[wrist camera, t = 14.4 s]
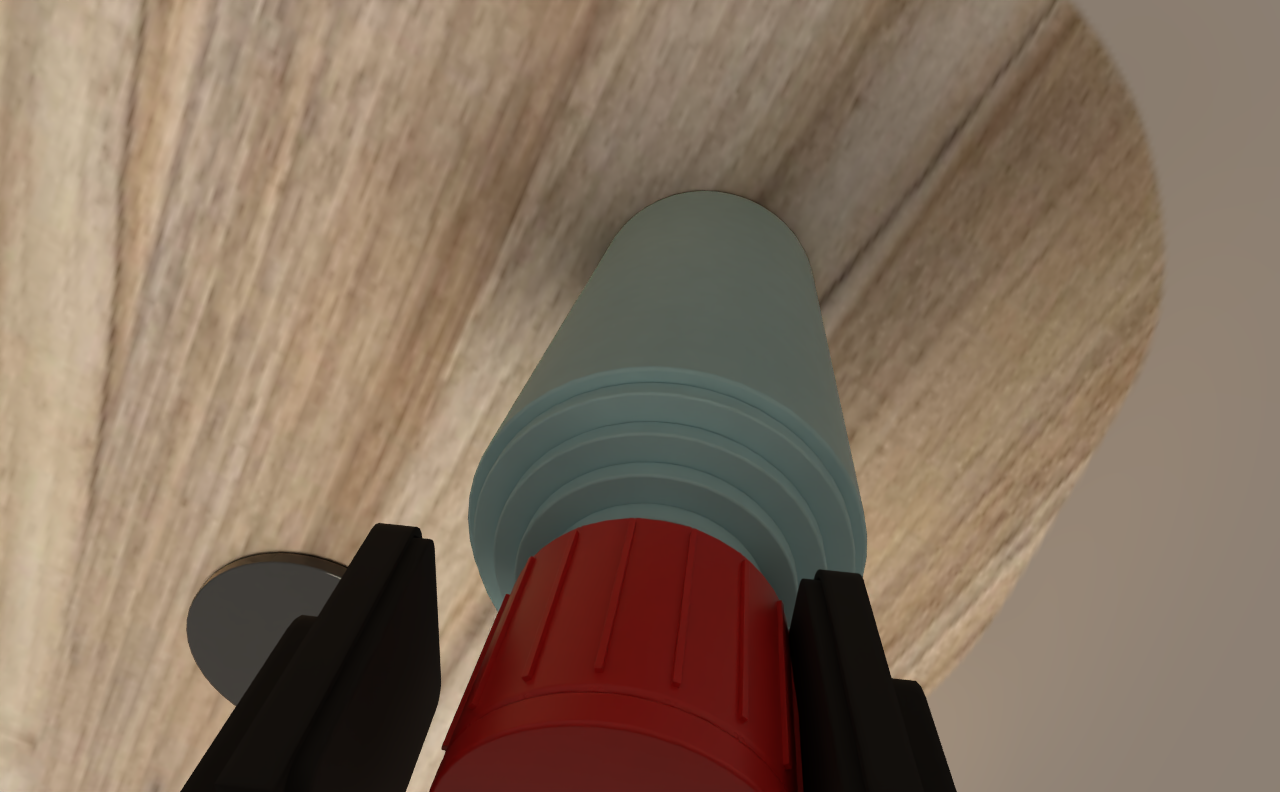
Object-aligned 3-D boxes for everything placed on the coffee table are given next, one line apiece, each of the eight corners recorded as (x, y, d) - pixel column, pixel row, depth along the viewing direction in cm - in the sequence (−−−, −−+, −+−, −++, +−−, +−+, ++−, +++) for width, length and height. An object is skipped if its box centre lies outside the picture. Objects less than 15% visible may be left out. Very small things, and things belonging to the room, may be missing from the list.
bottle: (834, 204, 22) (1004, 629, 7) (793, 410, 24) (851, 1016, 10) (604, 177, 22) (307, 520, 7) (591, 382, 25) (357, 920, 10)
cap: (465, 654, 12) (367, 874, 9) (587, 462, 10) (515, 655, 7) (695, 770, 12) (677, 1015, 9) (850, 605, 10) (888, 844, 7)
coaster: (419, 567, 29) (413, 578, 28) (425, 737, 33) (421, 749, 32) (176, 538, 29) (166, 549, 28) (213, 711, 33) (204, 723, 32)
